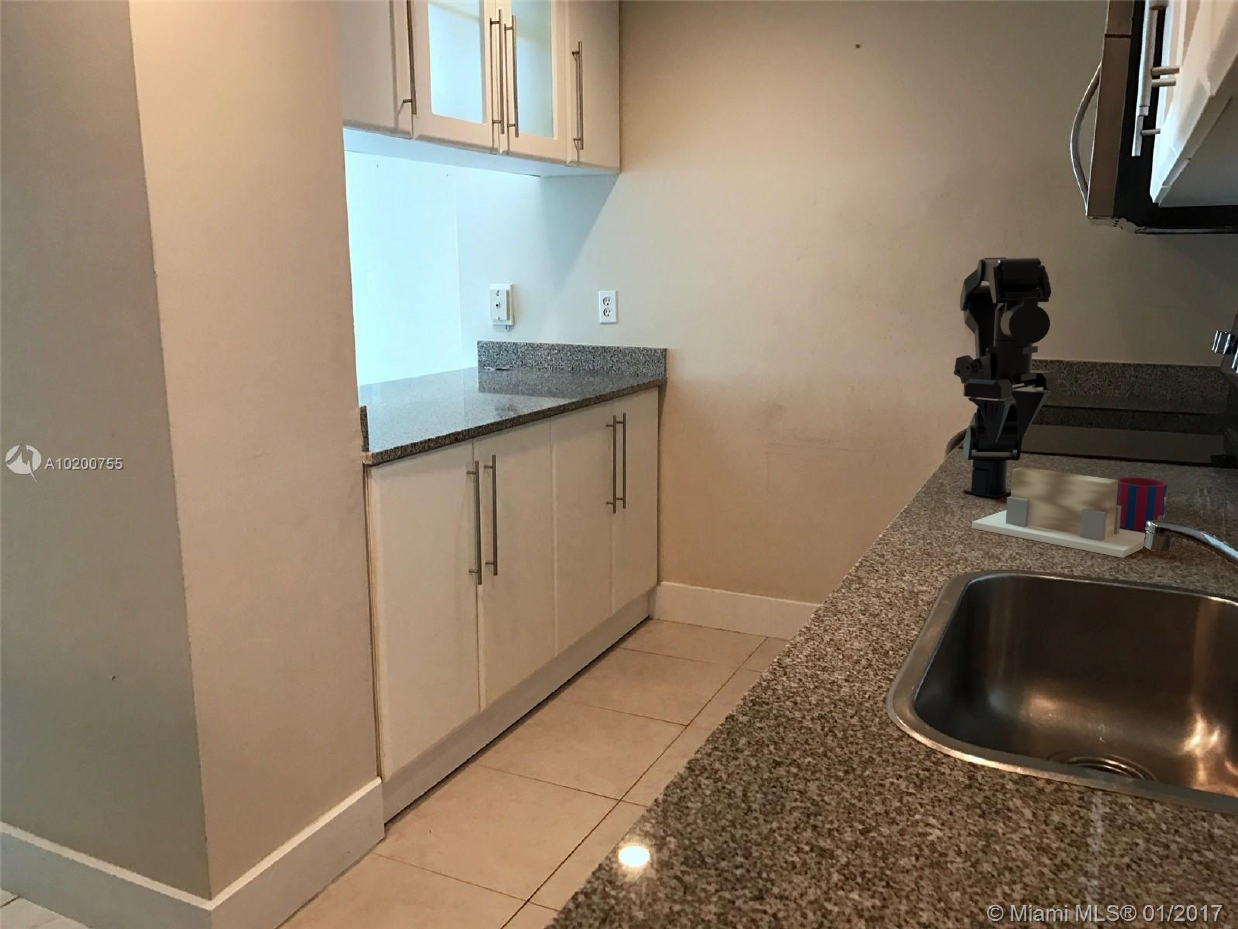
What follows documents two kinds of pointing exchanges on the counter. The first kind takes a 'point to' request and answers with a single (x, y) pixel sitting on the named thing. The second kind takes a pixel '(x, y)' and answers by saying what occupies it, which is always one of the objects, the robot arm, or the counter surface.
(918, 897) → the counter surface
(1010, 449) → the robot arm
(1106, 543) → the white slotted rack
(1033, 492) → the wooden block
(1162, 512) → the mug
